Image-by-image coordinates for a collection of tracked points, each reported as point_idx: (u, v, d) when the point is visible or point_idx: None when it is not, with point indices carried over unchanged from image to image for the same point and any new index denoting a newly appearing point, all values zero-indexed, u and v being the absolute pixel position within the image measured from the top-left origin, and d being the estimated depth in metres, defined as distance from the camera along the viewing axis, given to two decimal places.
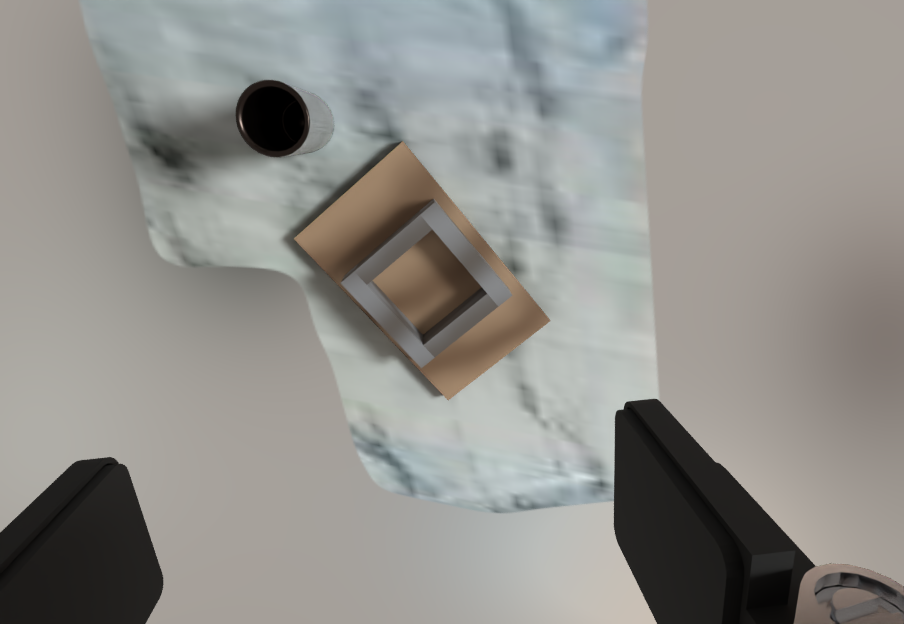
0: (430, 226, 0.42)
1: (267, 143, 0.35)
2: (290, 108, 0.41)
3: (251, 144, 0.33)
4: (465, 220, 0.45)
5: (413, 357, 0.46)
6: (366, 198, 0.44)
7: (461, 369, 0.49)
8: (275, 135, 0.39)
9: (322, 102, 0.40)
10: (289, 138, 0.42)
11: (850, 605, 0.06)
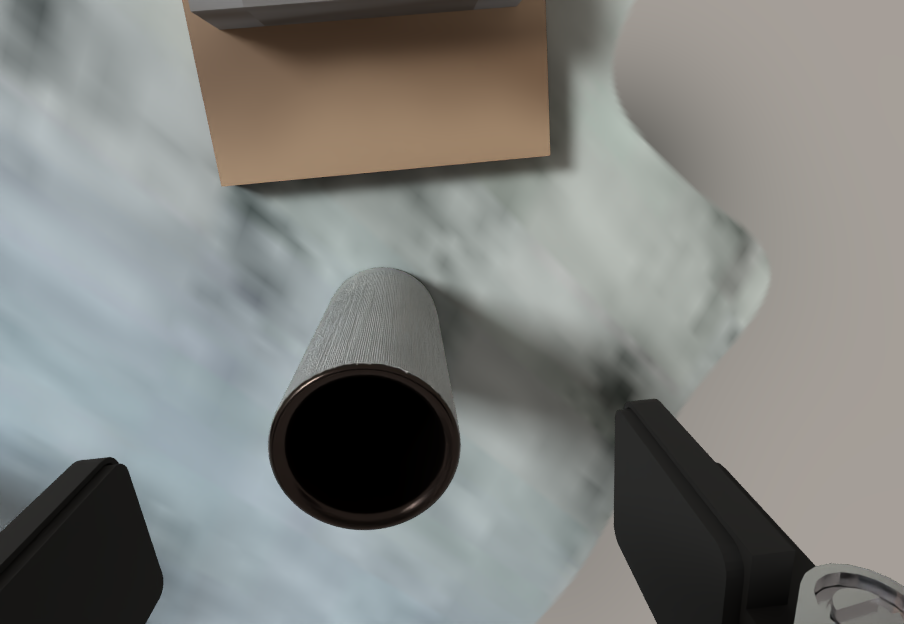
0: None
1: None
2: None
3: (452, 434, 0.13)
4: None
5: None
6: (361, 131, 0.19)
7: None
8: None
9: None
10: None
11: (850, 605, 0.06)
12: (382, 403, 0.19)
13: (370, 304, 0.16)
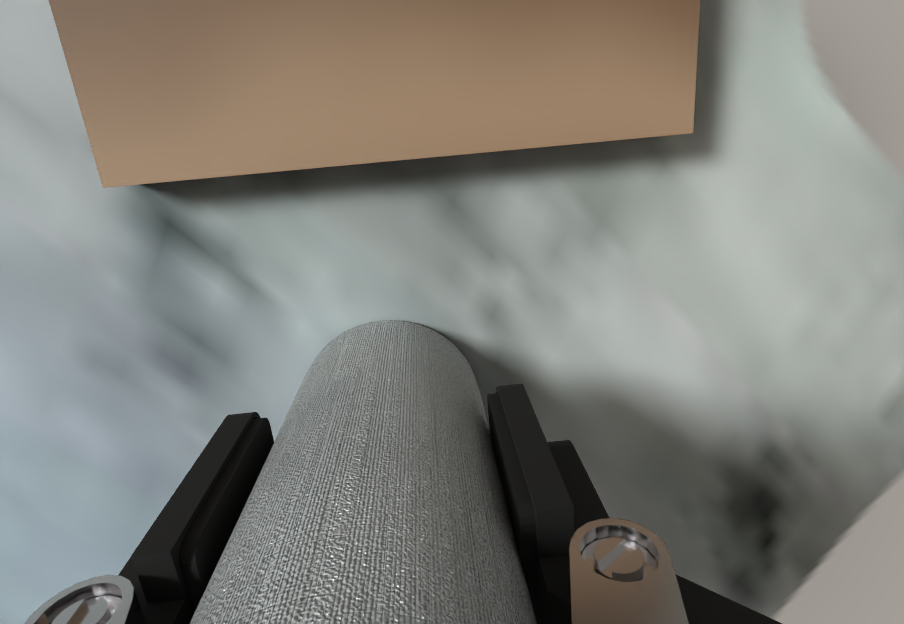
0: None
1: None
2: None
3: None
4: None
5: None
6: (353, 86, 0.10)
7: None
8: None
9: None
10: None
11: (606, 554, 0.07)
12: None
13: (364, 441, 0.08)
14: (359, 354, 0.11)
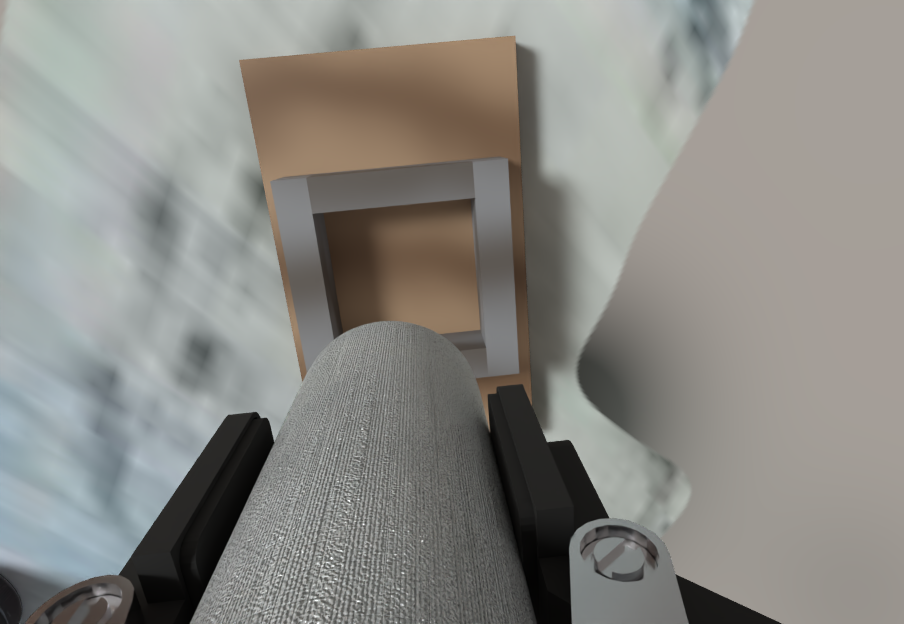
0: None
1: None
2: None
3: None
4: (293, 319, 0.27)
5: (506, 188, 0.23)
6: None
7: (451, 81, 0.24)
8: None
9: None
10: None
11: (606, 554, 0.07)
12: None
13: (364, 442, 0.08)
14: (359, 355, 0.11)
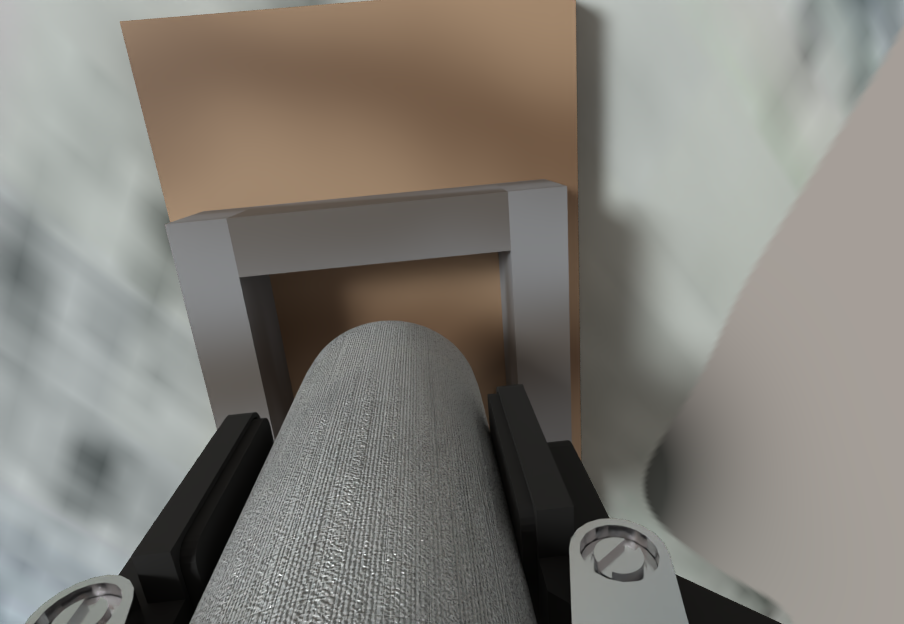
0: None
1: None
2: None
3: None
4: None
5: (562, 234, 0.14)
6: None
7: (470, 59, 0.15)
8: None
9: None
10: None
11: (606, 554, 0.07)
12: None
13: (364, 441, 0.08)
14: (359, 354, 0.11)
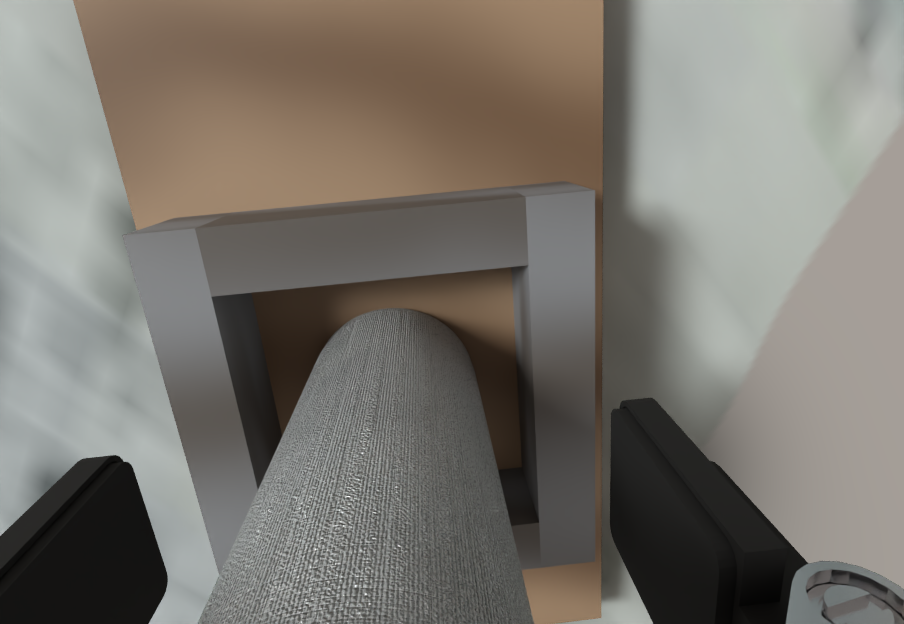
0: None
1: None
2: None
3: None
4: None
5: (588, 246, 0.12)
6: None
7: (481, 42, 0.13)
8: None
9: None
10: None
11: (841, 602, 0.06)
12: None
13: (374, 403, 0.09)
14: (368, 336, 0.13)
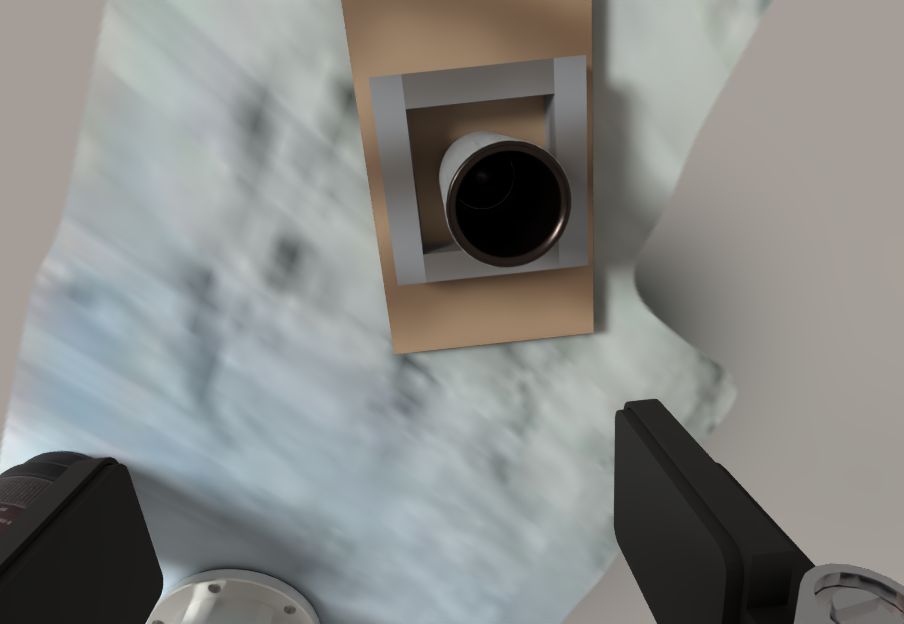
0: (423, 259, 0.27)
1: (544, 182, 0.21)
2: (486, 203, 0.28)
3: (567, 195, 0.19)
4: (376, 219, 0.29)
5: (583, 83, 0.25)
6: (478, 322, 0.31)
7: None
8: (527, 186, 0.25)
9: None
10: (515, 171, 0.28)
11: (850, 605, 0.06)
12: (490, 224, 0.25)
13: (493, 134, 0.22)
14: (475, 133, 0.26)
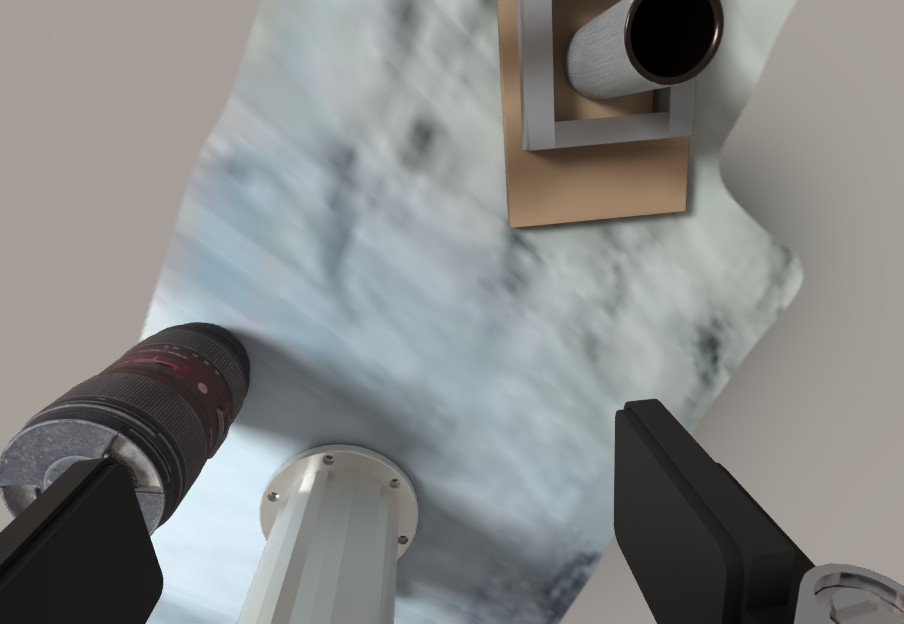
0: (554, 127, 0.32)
1: (689, 26, 0.25)
2: None
3: (721, 21, 0.23)
4: (507, 99, 0.34)
5: None
6: (586, 198, 0.36)
7: None
8: (653, 54, 0.30)
9: (573, 57, 0.31)
10: None
11: (850, 605, 0.06)
12: None
13: None
14: None
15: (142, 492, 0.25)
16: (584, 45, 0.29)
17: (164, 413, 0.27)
